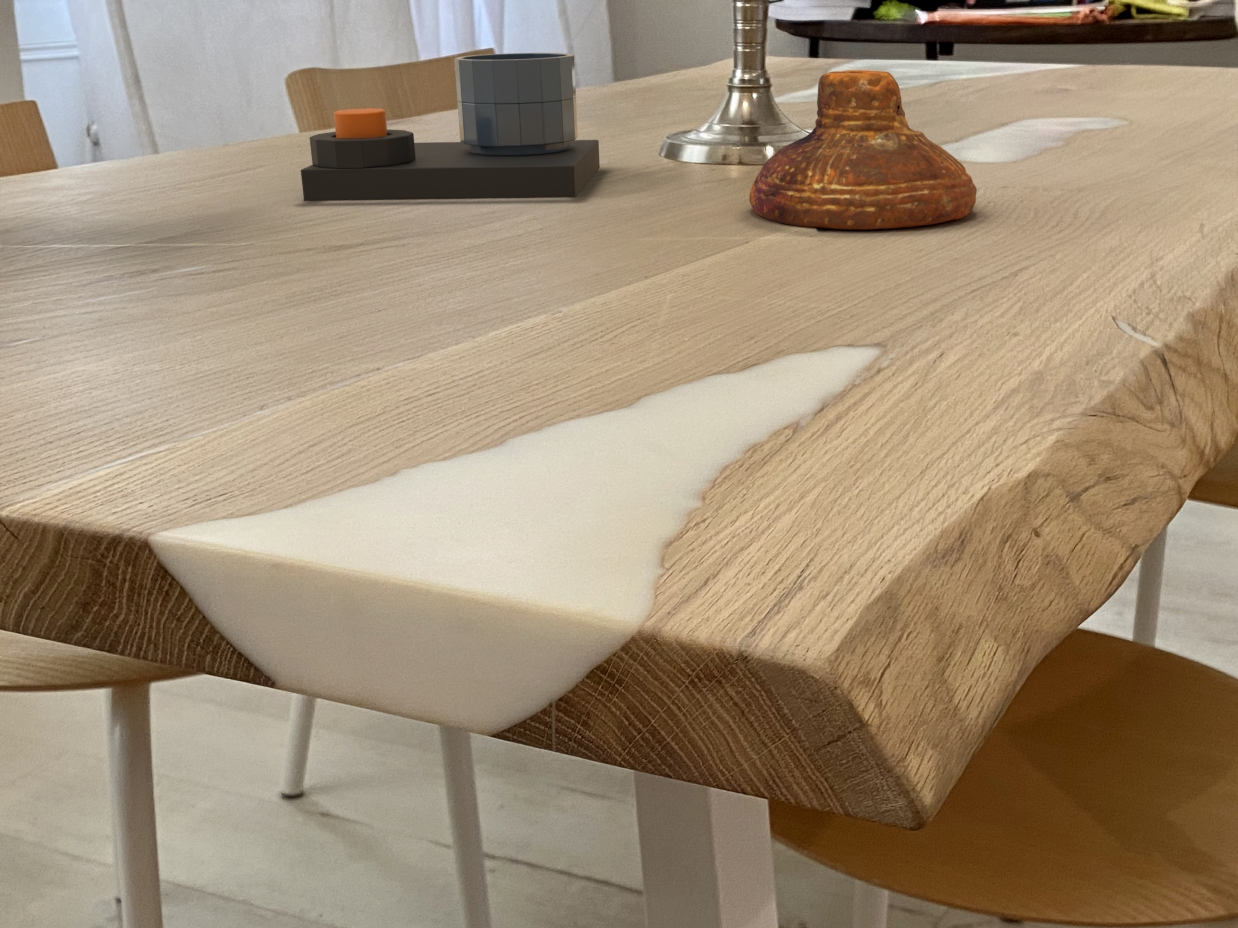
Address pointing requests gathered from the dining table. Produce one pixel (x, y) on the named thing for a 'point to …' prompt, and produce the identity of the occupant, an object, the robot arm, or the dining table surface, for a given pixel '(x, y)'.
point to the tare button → (360, 123)
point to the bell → (862, 165)
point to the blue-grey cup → (516, 103)
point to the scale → (439, 170)
